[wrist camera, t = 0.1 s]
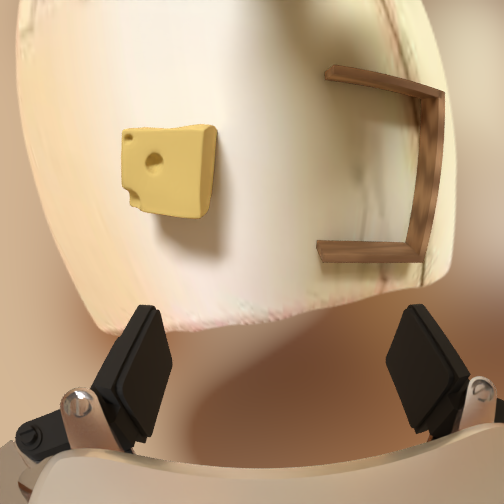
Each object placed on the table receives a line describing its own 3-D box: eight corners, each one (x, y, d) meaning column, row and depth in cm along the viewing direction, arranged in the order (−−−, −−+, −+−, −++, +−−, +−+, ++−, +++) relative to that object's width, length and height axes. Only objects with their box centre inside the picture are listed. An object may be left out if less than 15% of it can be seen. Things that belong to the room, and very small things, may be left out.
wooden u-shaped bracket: (324, 72, 31) (333, 64, 26) (426, 93, 31) (444, 91, 26) (316, 247, 42) (322, 262, 38) (409, 249, 42) (423, 262, 37)
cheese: (148, 194, 39) (118, 215, 30) (150, 123, 35) (118, 124, 26) (215, 199, 39) (202, 222, 30) (221, 125, 35) (209, 124, 26)
